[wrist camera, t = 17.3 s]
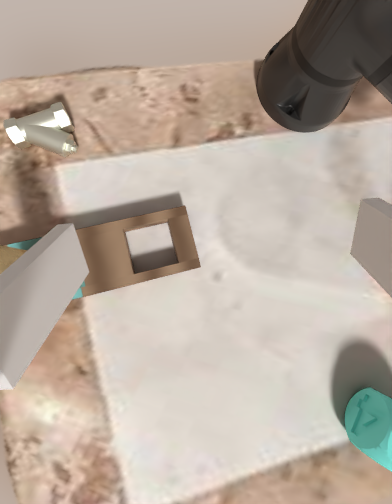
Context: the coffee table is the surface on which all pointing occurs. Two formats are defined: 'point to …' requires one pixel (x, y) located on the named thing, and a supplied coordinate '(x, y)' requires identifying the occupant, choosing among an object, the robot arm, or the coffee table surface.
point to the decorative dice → (371, 425)
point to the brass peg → (9, 256)
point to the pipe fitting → (44, 130)
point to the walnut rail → (118, 255)
